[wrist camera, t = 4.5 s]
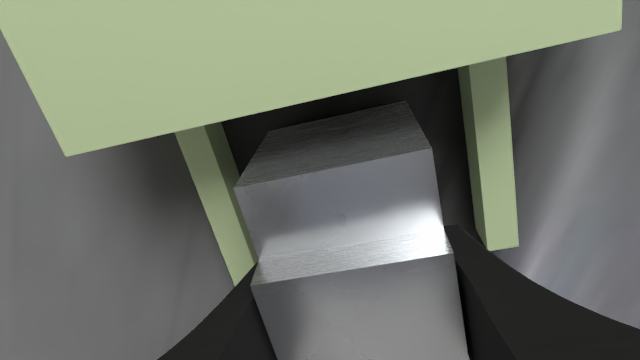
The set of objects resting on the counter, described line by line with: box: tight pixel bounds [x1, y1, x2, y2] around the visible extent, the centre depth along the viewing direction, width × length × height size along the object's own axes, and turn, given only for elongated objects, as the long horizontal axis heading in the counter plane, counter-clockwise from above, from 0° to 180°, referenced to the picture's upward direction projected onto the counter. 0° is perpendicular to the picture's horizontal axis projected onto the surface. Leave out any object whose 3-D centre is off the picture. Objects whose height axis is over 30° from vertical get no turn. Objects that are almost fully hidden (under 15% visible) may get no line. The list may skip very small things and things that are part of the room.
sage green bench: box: [0, 0, 622, 286], centre depth 12 cm, size 11×12×5 cm
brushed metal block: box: [233, 101, 469, 360], centre depth 12 cm, size 7×4×6 cm, turn 14°
